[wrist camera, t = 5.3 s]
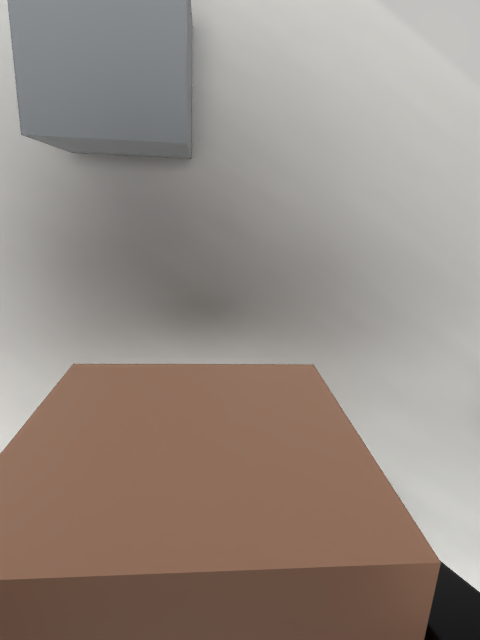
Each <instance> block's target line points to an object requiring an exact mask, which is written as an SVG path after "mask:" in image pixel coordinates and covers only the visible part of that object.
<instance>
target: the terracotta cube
mask: <svg viewBox="0 0 480 640" xmlns="http://www.w3.org/2000/svg"><path fill="white" fill-rule="evenodd" d="M440 565H441V562H440V560H439V559H438V557H437V556H436V554H435V552H434V551H433V549H432V548H431V546H430V545H429V543H428V542H427V540H426V539H425V537H424V535H423V534H422V532H421V531H420V529H419V528H418V526H417V525H416V523H415V521H414V520H413V518H412V517H411V515H410V514H409V512H408V511H407V509H406V507H405V506H404V504H403V503H402V501H401V500H400V498H399V497H398V495H397V494H396V492H395V490H394V489H393V487H392V486H391V484H390V483H389V481H388V480H387V478H386V476H385V475H384V473H383V472H382V470H381V469H380V467H379V466H378V464H377V462H376V461H375V459H374V458H373V456H372V455H371V453H370V452H369V450H368V448H367V447H366V445H365V444H364V442H363V441H362V439H361V438H360V436H359V435H358V433H357V431H356V430H355V428H354V427H353V425H352V424H351V422H350V421H349V419H348V417H347V416H346V414H345V413H344V411H343V410H342V408H341V407H340V405H339V403H338V402H337V400H336V399H335V397H334V396H333V394H332V393H331V391H330V390H329V388H328V386H327V385H326V383H325V382H324V380H323V379H322V377H321V376H320V374H319V372H318V371H317V369H316V368H315V366H314V365H275V364H73V365H72V366H71V367H70V369H69V370H68V371H67V372H66V374H65V375H64V376H63V377H62V378H61V380H60V381H59V382H58V383H57V385H56V386H55V387H54V388H53V390H52V391H51V392H50V393H49V395H48V396H47V397H46V398H45V399H44V401H43V402H42V403H41V404H40V406H39V407H38V408H37V409H36V411H35V412H34V413H33V414H32V416H31V417H30V418H29V419H28V420H27V422H26V423H25V424H24V425H23V427H22V428H21V429H20V430H19V432H18V433H17V434H16V435H15V437H14V438H13V439H12V440H11V441H10V443H9V444H8V445H7V446H6V448H5V449H4V450H3V451H2V453H1V454H0V640H424V638H425V633H426V629H427V624H428V619H429V615H430V610H431V606H432V601H433V597H434V592H435V587H436V583H437V578H438V574H439V569H440Z"/></svg>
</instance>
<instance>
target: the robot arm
mask: <svg viewBox="0 0 480 640" xmlns="http://www.w3.org/2000/svg"><path fill="white" fill-rule="evenodd" d="M440 562H441V561H440ZM424 640H480V592H479V591H477V590H476V589H475V588H474V587H472V586H471V585H470V584H469V583H467V582H466V581H465V580H464V579H462V578H461V577H460V576H459V575H457V574H456V573H455V572H454V571H452V570H451V569H450V568H449V567H447V566H446V565H445V564H444V563H442V562H441V565H440V569H439V574H438V578H437V583H436V587H435V592H434V597H433V601H432V606H431V610H430V615H429V619H428V624H427V629H426V633H425V638H424Z"/></svg>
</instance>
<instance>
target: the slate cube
mask: <svg viewBox="0 0 480 640" xmlns="http://www.w3.org/2000/svg"><path fill="white" fill-rule="evenodd" d="M8 10H9V20H10V30H11V39H12V49H13V59H14V69H15V79H16V89H17V99H18V109H19V119H20V128H21V135H23V136H26V137H29V138H32V139H35V140H38V141H41V142H43V143H46V144H49V145H52V146H55V147H58V148H61V149H63V150H66V151H69V152H73V153H93V154H113V155H133V156H154V157H174V158H192V13H191V0H8Z"/></svg>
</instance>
